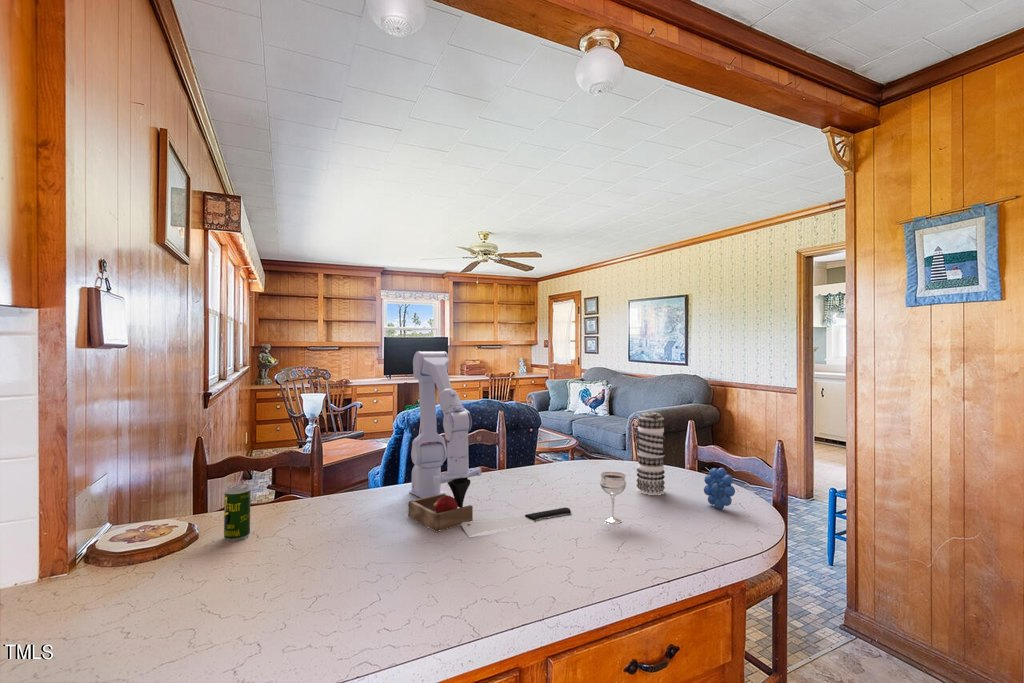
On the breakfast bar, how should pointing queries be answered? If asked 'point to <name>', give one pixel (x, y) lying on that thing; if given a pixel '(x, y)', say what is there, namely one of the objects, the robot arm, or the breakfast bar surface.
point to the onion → (445, 504)
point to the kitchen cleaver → (510, 521)
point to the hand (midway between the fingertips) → (458, 506)
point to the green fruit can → (237, 512)
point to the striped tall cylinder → (650, 454)
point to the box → (425, 513)
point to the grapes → (719, 488)
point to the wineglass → (613, 488)
